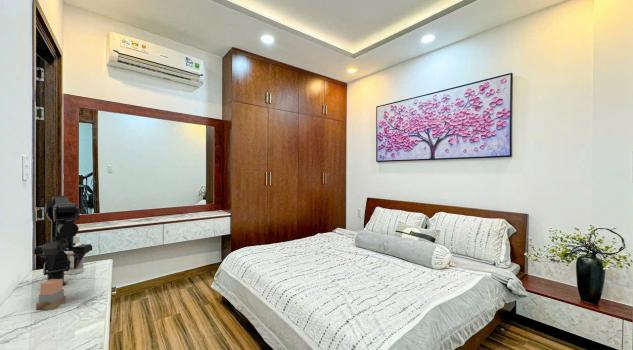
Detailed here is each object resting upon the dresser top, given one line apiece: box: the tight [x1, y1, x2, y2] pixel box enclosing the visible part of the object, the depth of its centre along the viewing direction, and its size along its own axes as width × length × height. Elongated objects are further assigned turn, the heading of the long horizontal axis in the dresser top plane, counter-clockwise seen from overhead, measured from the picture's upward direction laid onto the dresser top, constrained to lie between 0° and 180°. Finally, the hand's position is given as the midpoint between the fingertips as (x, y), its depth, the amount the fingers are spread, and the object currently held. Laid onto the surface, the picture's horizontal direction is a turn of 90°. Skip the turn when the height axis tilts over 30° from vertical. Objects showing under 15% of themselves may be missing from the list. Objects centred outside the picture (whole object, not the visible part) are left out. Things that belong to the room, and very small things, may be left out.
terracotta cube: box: [39, 279, 64, 295], centre depth 105 cm, size 4×4×4 cm
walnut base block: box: [35, 295, 67, 311], centre depth 105 cm, size 6×6×3 cm
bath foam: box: [65, 234, 85, 276], centre depth 142 cm, size 7×7×20 cm
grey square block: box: [38, 289, 65, 303], centre depth 105 cm, size 5×5×3 cm
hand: (63, 268), depth 113 cm, fingers open, 9 cm apart
